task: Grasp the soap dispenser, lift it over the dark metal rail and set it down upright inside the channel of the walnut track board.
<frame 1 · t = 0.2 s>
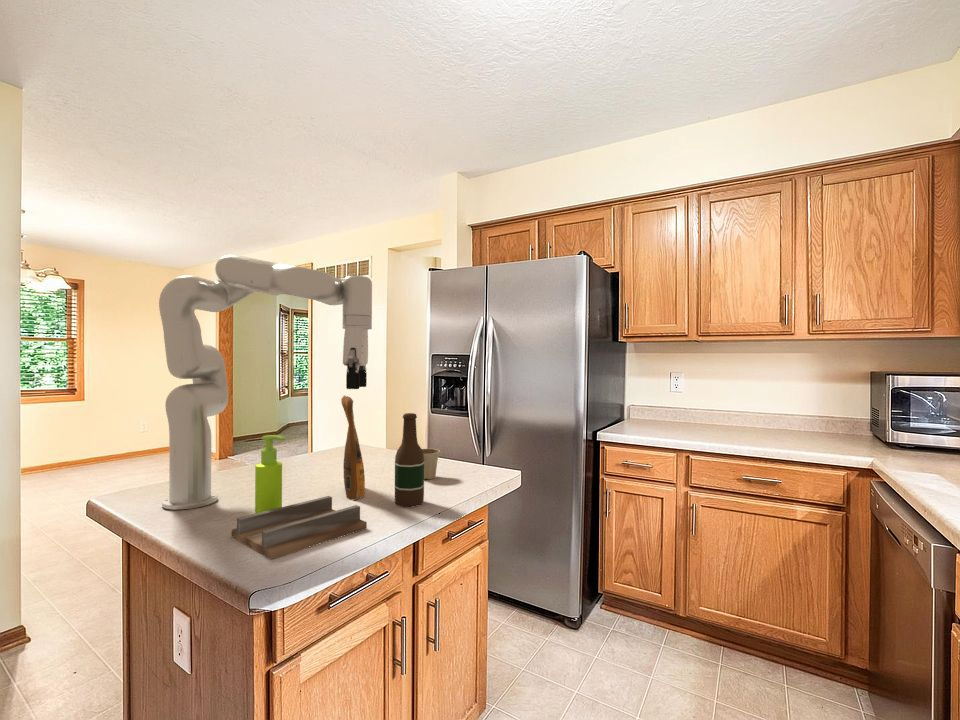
hand: (356, 387, 125), 31 cm above the countertop, tool pointing down, fingers open, 9 cm apart
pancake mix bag: (352, 493, 136), on the countertop
track board: (300, 532, 104), on the countertop
soap dispenser: (270, 519, 113), on the countertop
flower pot: (425, 478, 154), on the countertop
beer bottle: (409, 504, 126), on the countertop
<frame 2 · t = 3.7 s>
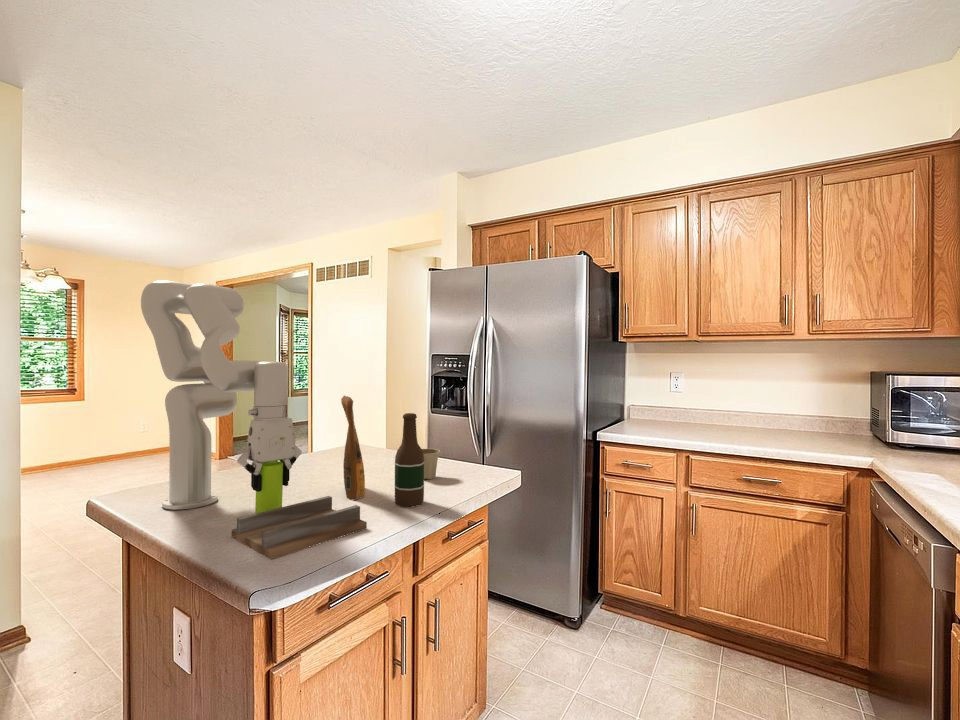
hand: (270, 487, 113), 8 cm above the countertop, tool pointing down, fingers closed on soap dispenser, 5 cm apart
soap dispenser: (270, 519, 113), on the countertop, touching gripper
everything else where it was.
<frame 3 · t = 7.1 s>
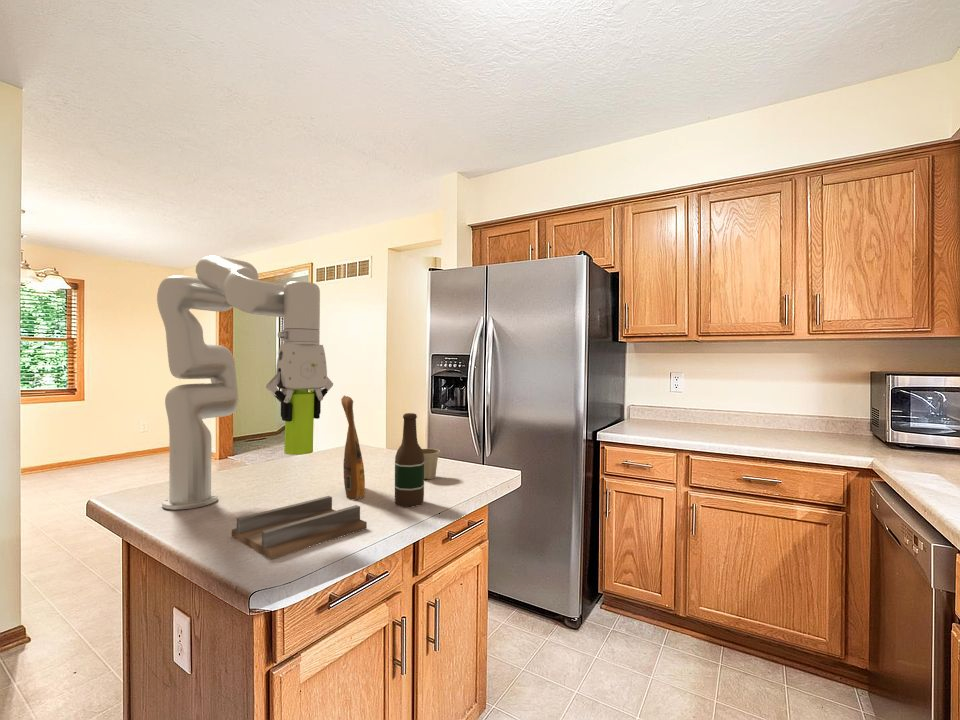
hand: (301, 418, 104), 25 cm above the countertop, tool pointing down, fingers closed on soap dispenser, 5 cm apart
soap dispenser: (300, 453, 104), point 18 cm above the countertop, touching gripper
everything else where it was.
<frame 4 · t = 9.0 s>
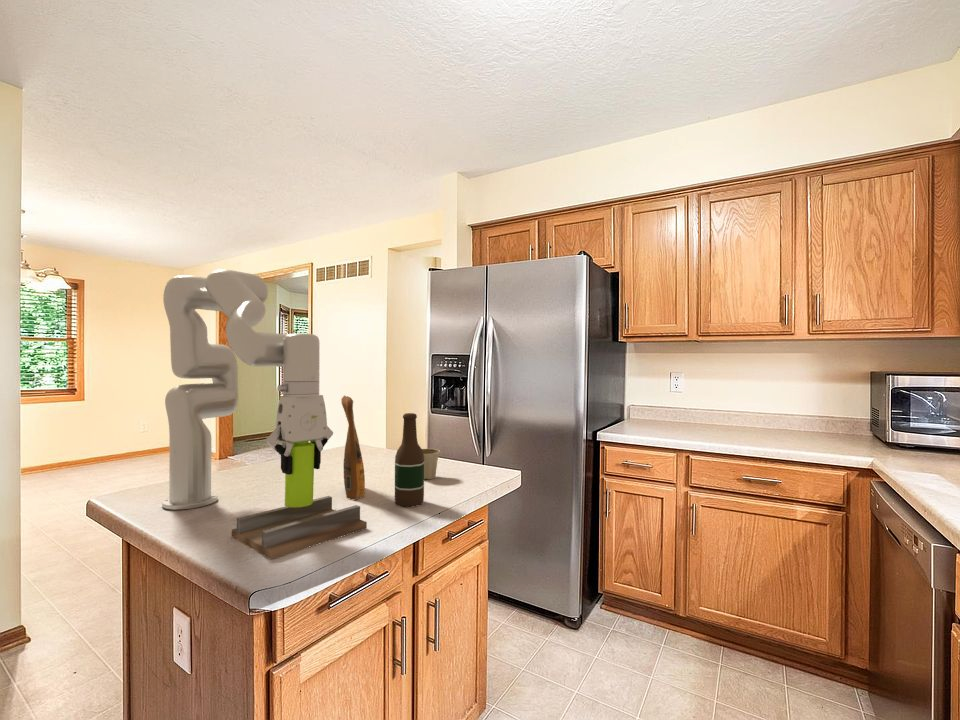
hand: (301, 470, 104), 14 cm above the countertop, tool pointing down, fingers closed on soap dispenser, 5 cm apart
soap dispenser: (301, 504, 104), point 6 cm above the countertop, touching gripper
everything else where it was.
when the fingers open (10 cm above the countertop, at t = 10.6 s): soap dispenser drops 1 cm, resting on track board.
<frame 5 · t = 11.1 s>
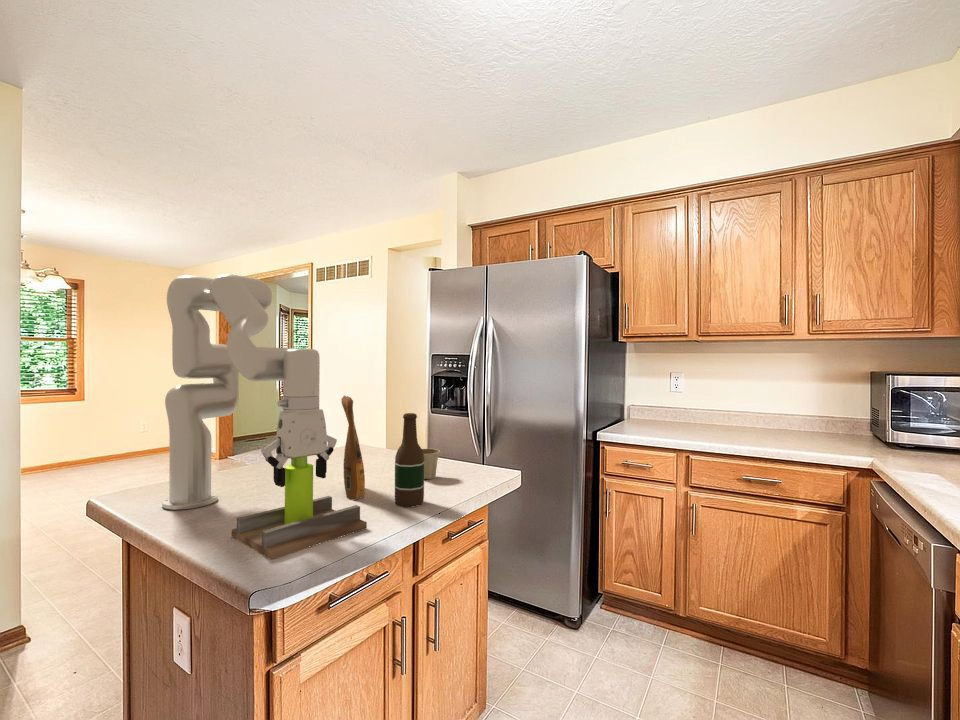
hand: (301, 481, 104), 11 cm above the countertop, tool pointing down, fingers open, 9 cm apart
soap dispenser: (300, 526, 105), point 1 cm above the countertop, touching track board
everything else where it was.
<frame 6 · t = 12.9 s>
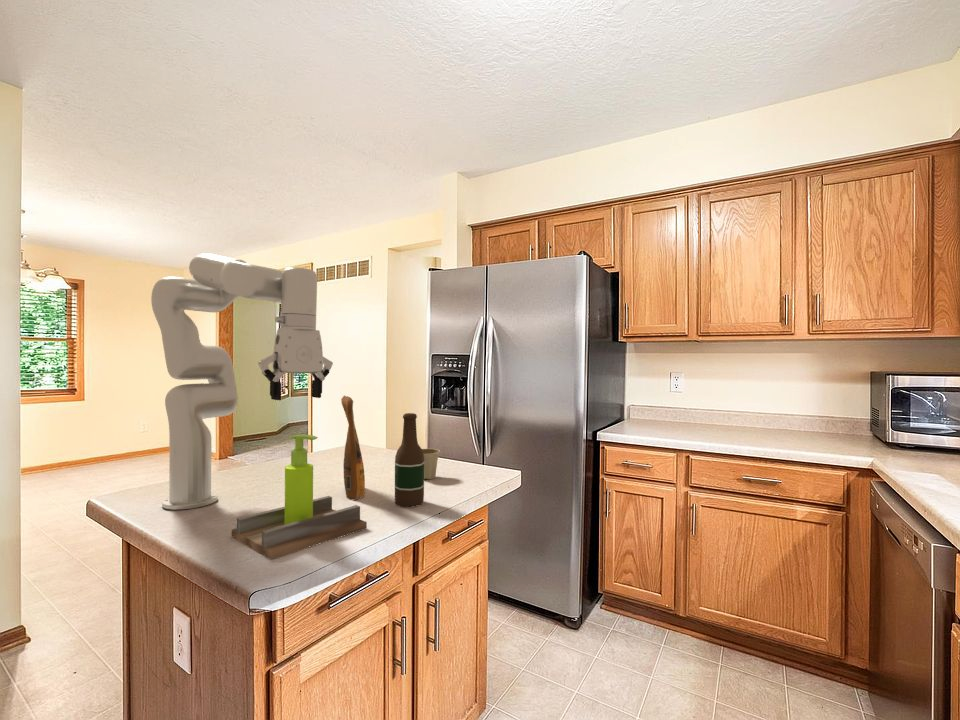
hand: (296, 398, 107), 29 cm above the countertop, tool pointing down, fingers open, 9 cm apart
nothing on the countertop moved.
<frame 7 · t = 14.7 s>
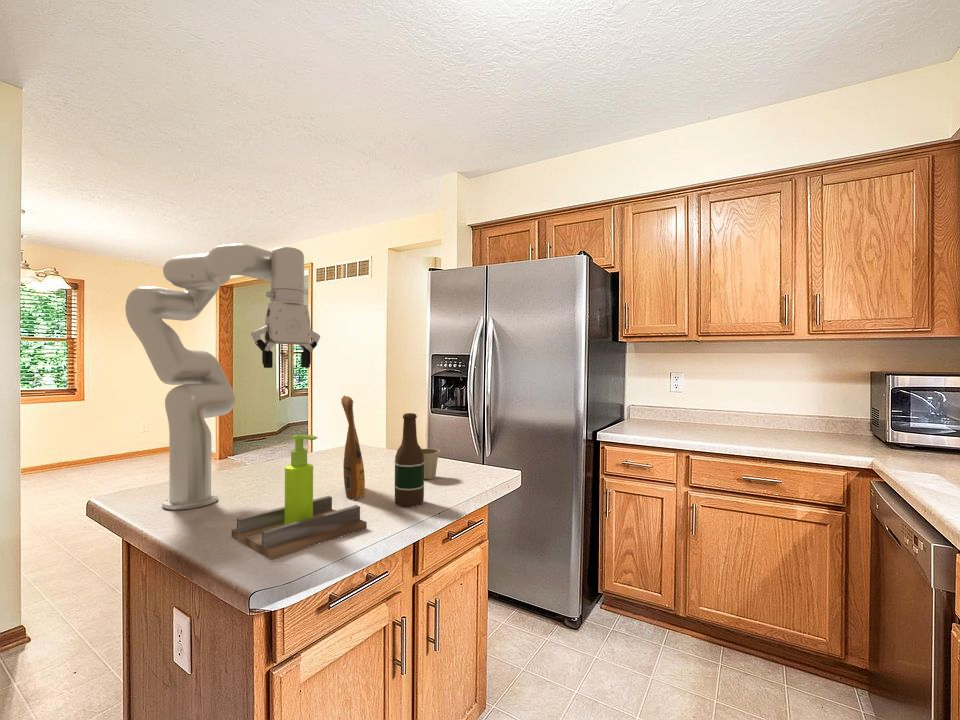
hand: (287, 367, 116), 36 cm above the countertop, tool pointing down, fingers open, 9 cm apart
nothing on the countertop moved.
at the end: soap dispenser inside the target area on the track board (0.4 cm from its centre), point 1.3 cm above the track board's base; soap dispenser tilted 0°; the gripper is holding nothing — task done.
